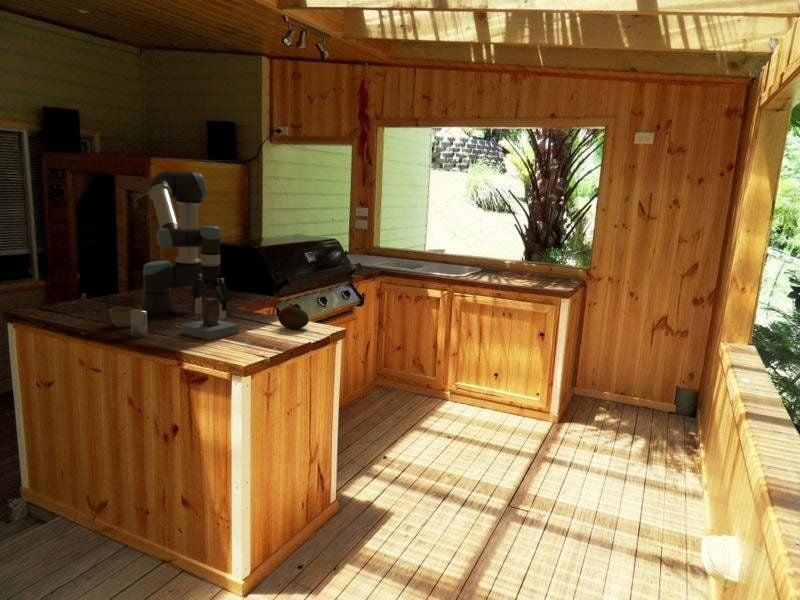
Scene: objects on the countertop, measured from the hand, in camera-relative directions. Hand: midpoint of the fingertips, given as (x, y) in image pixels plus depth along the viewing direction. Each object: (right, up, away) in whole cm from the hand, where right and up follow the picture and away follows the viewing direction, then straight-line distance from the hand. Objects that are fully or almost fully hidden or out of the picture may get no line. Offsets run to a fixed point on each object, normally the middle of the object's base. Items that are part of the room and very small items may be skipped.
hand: (210, 315), depth 248 cm
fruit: (+31, -6, +17) cm, 36 cm away
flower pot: (-38, -5, +4) cm, 38 cm away
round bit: (-26, -8, -9) cm, 28 cm away
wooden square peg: (0, -7, +1) cm, 7 cm away
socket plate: (0, -7, +1) cm, 7 cm away
